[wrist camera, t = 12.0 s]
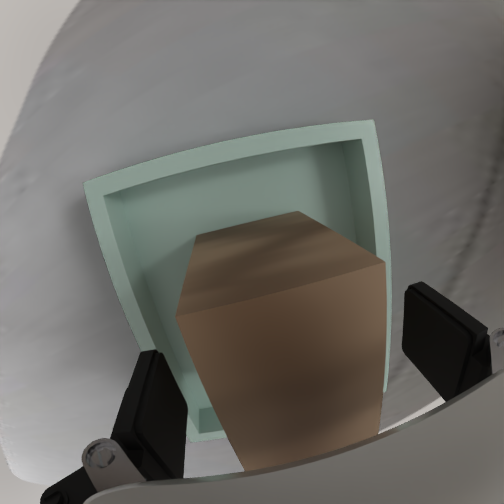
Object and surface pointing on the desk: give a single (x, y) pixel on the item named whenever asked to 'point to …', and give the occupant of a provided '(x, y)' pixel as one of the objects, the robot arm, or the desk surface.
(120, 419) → the robot arm
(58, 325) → the desk surface
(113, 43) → the desk surface
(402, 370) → the desk surface
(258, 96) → the desk surface
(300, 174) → the tray
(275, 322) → the walnut block
